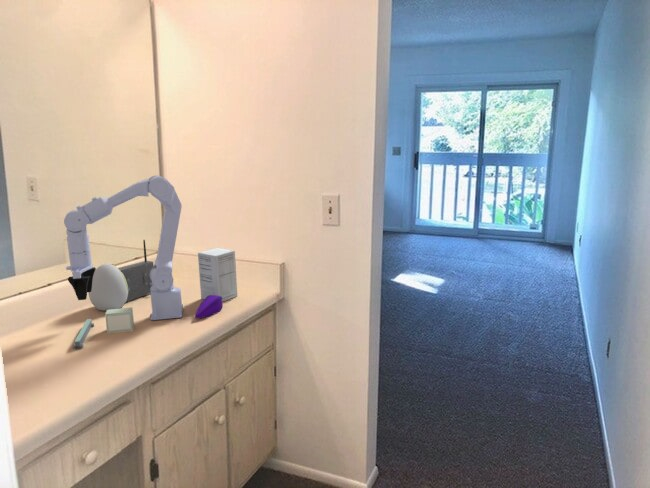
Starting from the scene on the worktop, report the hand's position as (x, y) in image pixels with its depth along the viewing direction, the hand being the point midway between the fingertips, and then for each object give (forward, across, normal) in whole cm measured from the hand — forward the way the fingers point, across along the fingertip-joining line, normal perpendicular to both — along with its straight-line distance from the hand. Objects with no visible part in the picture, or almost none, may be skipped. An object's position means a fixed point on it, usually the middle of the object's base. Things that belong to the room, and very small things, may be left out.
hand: (85, 295), depth 152 cm
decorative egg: (+10, -18, +4) cm, 20 cm away
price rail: (+10, +9, 0) cm, 13 cm away
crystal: (+10, -2, +36) cm, 37 cm away
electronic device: (+10, -25, +11) cm, 29 cm away
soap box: (+10, +6, +10) cm, 15 cm away
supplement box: (+10, -18, +40) cm, 45 cm away
